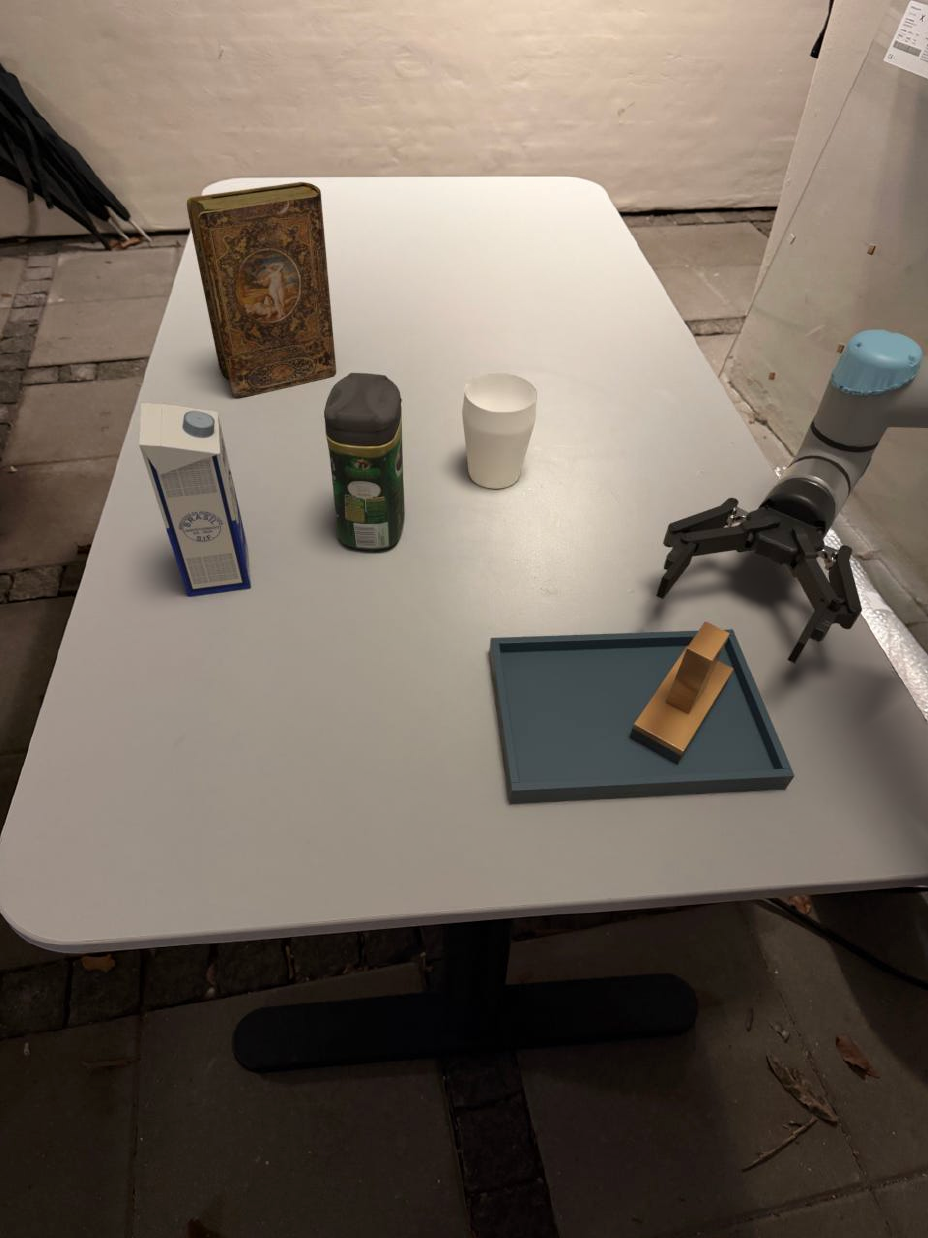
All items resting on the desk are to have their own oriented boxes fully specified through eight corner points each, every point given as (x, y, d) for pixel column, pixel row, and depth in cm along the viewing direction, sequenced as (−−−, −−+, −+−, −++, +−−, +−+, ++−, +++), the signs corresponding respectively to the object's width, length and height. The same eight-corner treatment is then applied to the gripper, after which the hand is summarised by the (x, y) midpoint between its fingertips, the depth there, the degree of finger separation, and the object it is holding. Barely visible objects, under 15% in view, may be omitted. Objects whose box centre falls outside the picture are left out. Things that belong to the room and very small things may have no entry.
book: (327, 357, 119) (310, 180, 101) (341, 374, 116) (326, 194, 97) (222, 381, 113) (183, 197, 95) (233, 399, 110) (196, 213, 92)
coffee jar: (345, 499, 96) (332, 362, 83) (408, 503, 96) (406, 367, 82) (330, 551, 90) (314, 412, 76) (398, 556, 90) (394, 418, 76)
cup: (538, 465, 103) (549, 383, 94) (512, 503, 97) (521, 421, 88) (476, 446, 105) (481, 365, 96) (447, 482, 99) (450, 400, 91)
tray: (786, 789, 71) (795, 775, 69) (509, 804, 69) (511, 790, 67) (726, 643, 83) (733, 629, 81) (489, 652, 81) (490, 637, 79)
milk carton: (187, 554, 88) (140, 399, 74) (247, 546, 90) (213, 393, 75) (187, 597, 84) (137, 442, 69) (251, 589, 85) (215, 435, 70)
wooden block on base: (727, 682, 78) (760, 613, 70) (677, 765, 71) (708, 698, 64) (681, 659, 80) (709, 589, 72) (628, 737, 73) (653, 669, 65)
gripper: (899, 580, 84) (840, 706, 72) (689, 490, 93) (605, 589, 81) (933, 527, 79) (875, 655, 67) (706, 437, 88) (618, 535, 76)
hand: (726, 619), depth 74 cm, fingers open, 13 cm apart
